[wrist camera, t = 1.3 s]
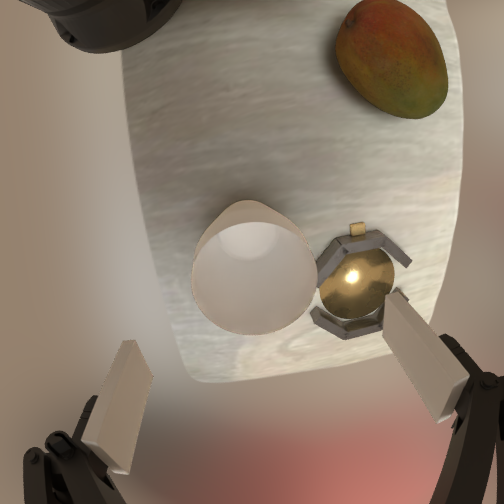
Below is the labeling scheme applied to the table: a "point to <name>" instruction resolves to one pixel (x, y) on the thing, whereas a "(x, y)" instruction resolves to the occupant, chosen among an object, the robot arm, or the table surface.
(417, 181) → the table surface
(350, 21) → the fruit
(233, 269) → the cup
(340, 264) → the socket
